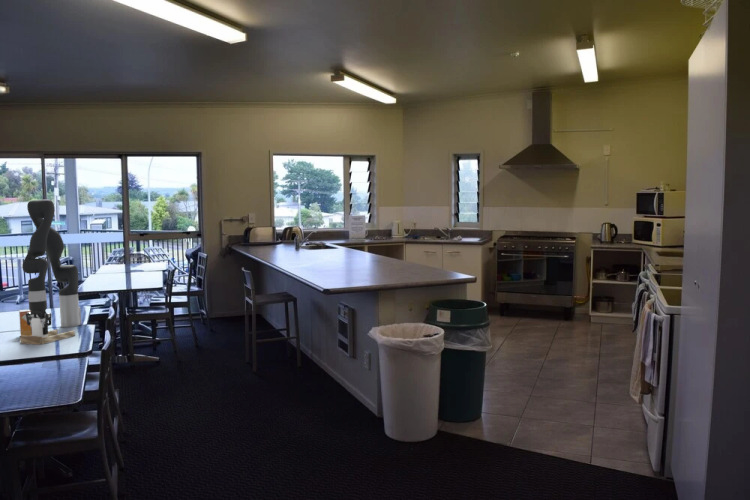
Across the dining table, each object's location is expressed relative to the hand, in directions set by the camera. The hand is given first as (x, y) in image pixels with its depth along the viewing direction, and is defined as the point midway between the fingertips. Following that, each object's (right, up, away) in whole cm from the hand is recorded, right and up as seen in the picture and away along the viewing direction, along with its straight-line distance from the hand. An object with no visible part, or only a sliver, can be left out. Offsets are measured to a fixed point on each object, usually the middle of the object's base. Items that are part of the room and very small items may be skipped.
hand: (39, 334), depth 283 cm
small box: (-14, -3, +15) cm, 21 cm away
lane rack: (+2, -3, +4) cm, 6 cm away
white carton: (0, -4, 0) cm, 4 cm away
